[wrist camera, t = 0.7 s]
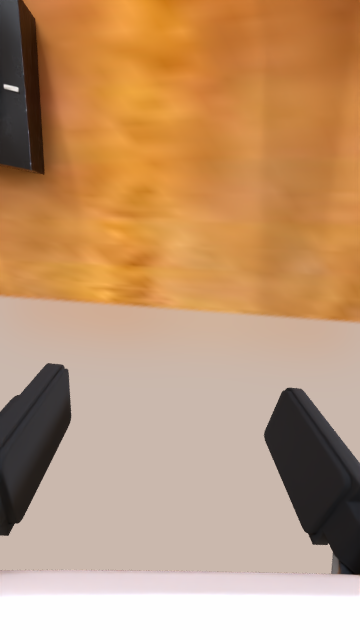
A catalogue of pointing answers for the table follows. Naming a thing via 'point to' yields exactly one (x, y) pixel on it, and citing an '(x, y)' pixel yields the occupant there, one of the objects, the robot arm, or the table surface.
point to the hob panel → (19, 90)
